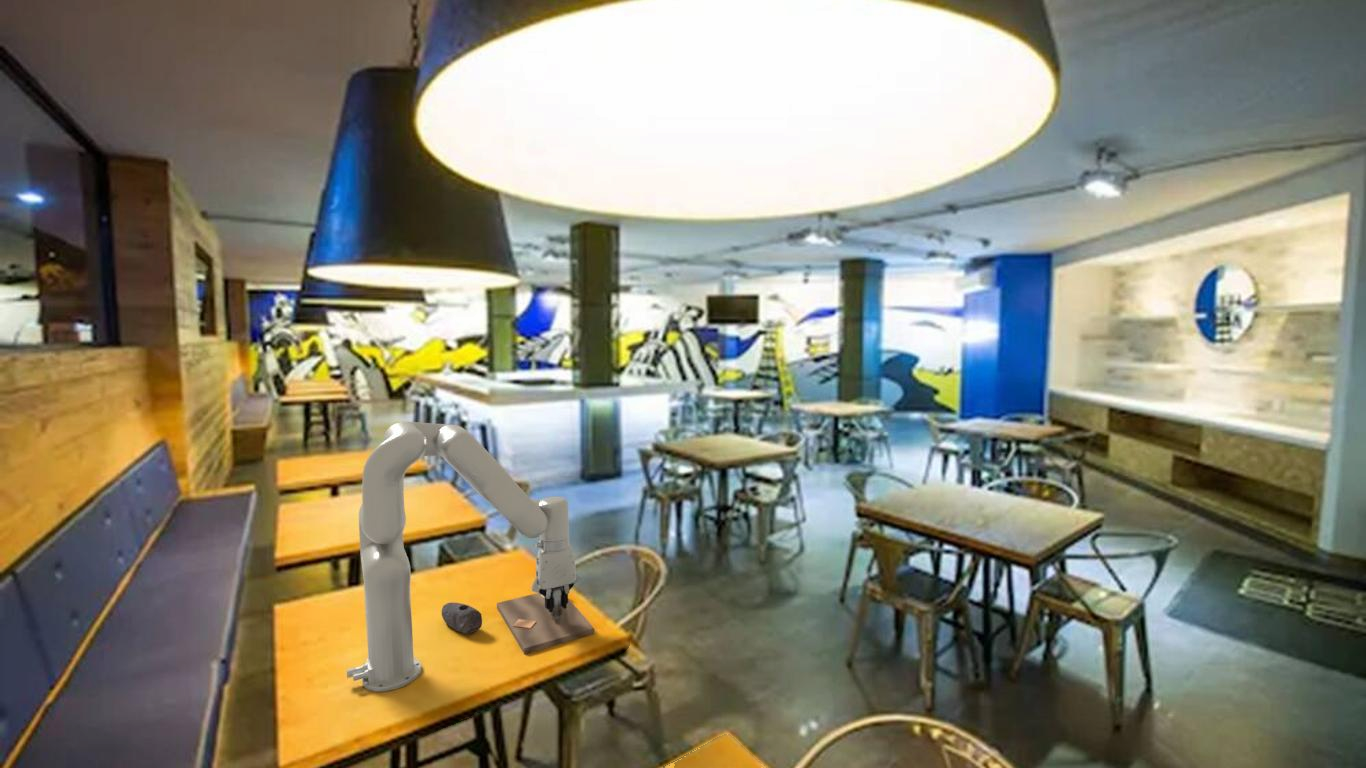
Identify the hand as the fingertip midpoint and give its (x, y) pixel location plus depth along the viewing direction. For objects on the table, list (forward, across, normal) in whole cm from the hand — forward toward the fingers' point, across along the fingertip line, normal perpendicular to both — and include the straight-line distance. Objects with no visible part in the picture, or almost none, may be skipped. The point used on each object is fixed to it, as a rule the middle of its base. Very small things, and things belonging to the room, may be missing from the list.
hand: (556, 607), depth 161 cm
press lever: (+4, +2, +9) cm, 10 cm away
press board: (+6, -2, +7) cm, 9 cm away
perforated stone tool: (+6, -23, +14) cm, 28 cm away
